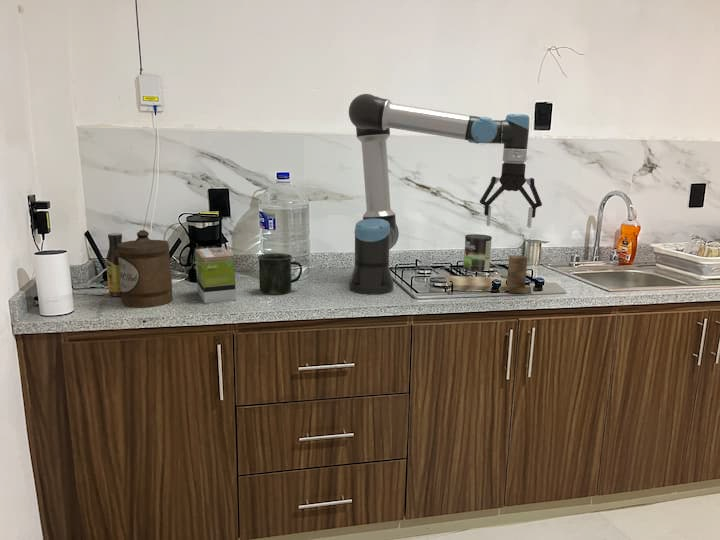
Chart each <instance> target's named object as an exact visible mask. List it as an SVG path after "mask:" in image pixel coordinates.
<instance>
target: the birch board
mask: <svg viewBox="0 0 720 540" xmlns="http://www.w3.org/2000/svg"><path fill="white" fill-rule="evenodd" d="M507 278H508V277H497V276H494V277H493V276H491V277H490V276H489V277H488V276H466V275H465V276H459V275H444V280H445V279H446V281H447V285H448V286H451V283H450V281H452V282H453V288H454V290H482V291H490V290H491V288H492V287H493V286H492V281H493V280H494V279H498V280H501V281H502V284H501V286H500V291H502V292H501V293H506V292H505V291H509V285H507V284H506V279H507ZM503 291H504V292H503ZM525 292H530V293H529V294H532V287H531V285H530V284H529V285H525Z"/></svg>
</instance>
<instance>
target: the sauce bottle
mask: <svg viewBox="0 0 720 540" xmlns="http://www.w3.org/2000/svg"><path fill="white" fill-rule="evenodd" d="M107 239H108V243H109V244H108V246H109V247H108V251H107V254H106V258H105V261H106V262H105V265H106V277H107V288H108V289H107V290H108V293H109V294H108V295H110V296H111V297H121V288H120V274H119V257H118V256H119V255H118V249H117V245H118V244H119V243H122V242H123V234H122V233H120V232H111V233H108V234H107Z"/></svg>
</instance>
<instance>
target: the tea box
mask: <svg viewBox="0 0 720 540" xmlns="http://www.w3.org/2000/svg"><path fill="white" fill-rule="evenodd" d="M194 254H195V255H194V258H195V270H196V272H195V273H196V285H197V292H198V294H199V297H201V299H202V301H203V303H204V304H213V303H222V302H223V303H225V302H230V301H236V299H237V291H236V271H235V270H236V267H235V255H234V254H233V253H232V252H230V251H229V250H228V249H227V248H226V247H224V246H221V247H208V248H195V249H194Z"/></svg>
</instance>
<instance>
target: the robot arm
mask: <svg viewBox="0 0 720 540" xmlns="http://www.w3.org/2000/svg"><path fill="white" fill-rule="evenodd" d="M348 117H349V120H350V122H351V123H352V125H354V127H355V130H356V131H355V132H356V138H357V140H358V141H360V143H361V152H362V167H363V179H364V181H363V182H364V192H365V193H364V195H365V207H366V211H365V213H364V214H363V215H362V219H360V220H357V222H356V223H355V227H354V267H353V270H352V273H351V277H350V280H349V283H348V286H349V290H350V291H351V292H355V293H359V294H366V295H378V294H386V293H390V292H392V291H393V290H394V281H393V278H392V274H391V270H390V250H391V249H393V248H394V246H395V245H396V244H397V242H398V239H399V235H400V232H399V227H398V225H397V220H396V213H395V211H393V210H392V208H391V196H390V194H391V193H390V183H389V182H390V181H389V166H388V152H387V151H388V150H387V148H388V147H387V139H388V138H389V137H390V135H391V131H390V129H395V130H401V131H407V132H414V133H418V134H419V133H420V134H427V135H432V136H439V137H445V138H451V139H456V140H464V141H467V142H468V143H472V144H503V149H502V151H503V153H502V161H503V163H502V164H501V174H500V177H497V176H492V177H491V179H490V183H489V185H488V186H487V188H486V190H485V191H484V193H483V195H482V197H481V198H480V199H479V204H480V205H483V206H484V211H483V213H484V214H483V215H484V216H485V217H486V226H487V227H490V226H491V215H492V206H491V204H492V203H493V202H494V201H495V200H496V199H497V198H498V197H499V196H500V195H501V194H502V193H503V192H504V191H507V192H511V191H513V192H517V191H519V192H520V193H521V194H522V196H523V197H524V198H525V200H526V201H527V202H528V204H529V206H530V207H528V214H527V224H526V228H528V229H530V228H532V223H533V221H532V220H533V218H534V219H535V218H536V213H537V212H536V211H537V208H539V207H542V206H543V203H542V201H541V198H540V195H539V192H538V191H537V190H538V189H537V188H536V186H535V178H533V177H530V178H526V176H525V175H526V164H525V162H527V156H528V155H527V152H528V145H529V144H528V142H529V132H530V117H529V115H527V114H523V113H508V114H507V115H506V116H505V119H502V120H498V119H496V120H495V119H492V118H491V117H488V116H475V115H468V114H464V113H463V114H462V113H457V112H450V111H445V110H444V111H443V110H437V109H436V110H435V109H431V108H425V107H419V106H411V105H405V104H399V103H393V102H392V101H391V99H387V98H382V97H379V96H375V95H373V94H372V93H371V94H370V93H362V94H359V95H357V96H356V97H354V98H353V100H352V101H351V103H350V104H349V107H348ZM498 182H499V183H500V184H501V185H500V187H498V189H497V190H496V191H495V192H494V193H493V194H492V195H491V196H490V197H489V195H490V194H491V192H492V191H493V188H494V186H495V185H496V184H498ZM525 184H527V185H528V186H529V188H530V191H531V193H532V197H533V198H534V200H533V199H532V198H531V197H530V195H529V194H528V193H527V191H526V190H525V188H524V185H525ZM488 197H489V198H488ZM487 198H488V199H487ZM534 201H535V202H534Z"/></svg>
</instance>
